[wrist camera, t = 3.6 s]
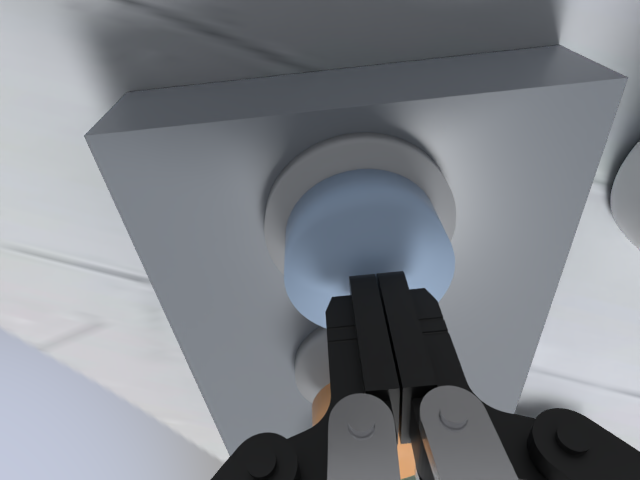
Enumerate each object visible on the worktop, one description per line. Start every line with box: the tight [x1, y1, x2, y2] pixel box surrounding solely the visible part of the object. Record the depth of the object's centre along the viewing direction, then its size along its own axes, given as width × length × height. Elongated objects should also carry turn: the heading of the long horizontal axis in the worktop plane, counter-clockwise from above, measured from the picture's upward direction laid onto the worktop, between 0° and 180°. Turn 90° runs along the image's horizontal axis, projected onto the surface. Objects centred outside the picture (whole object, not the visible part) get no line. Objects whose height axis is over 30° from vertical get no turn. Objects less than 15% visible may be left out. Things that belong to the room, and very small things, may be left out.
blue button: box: [284, 169, 455, 329], centre depth 13 cm, size 5×5×2 cm
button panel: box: [84, 45, 628, 456], centre depth 21 cm, size 16×24×5 cm, turn 5°
